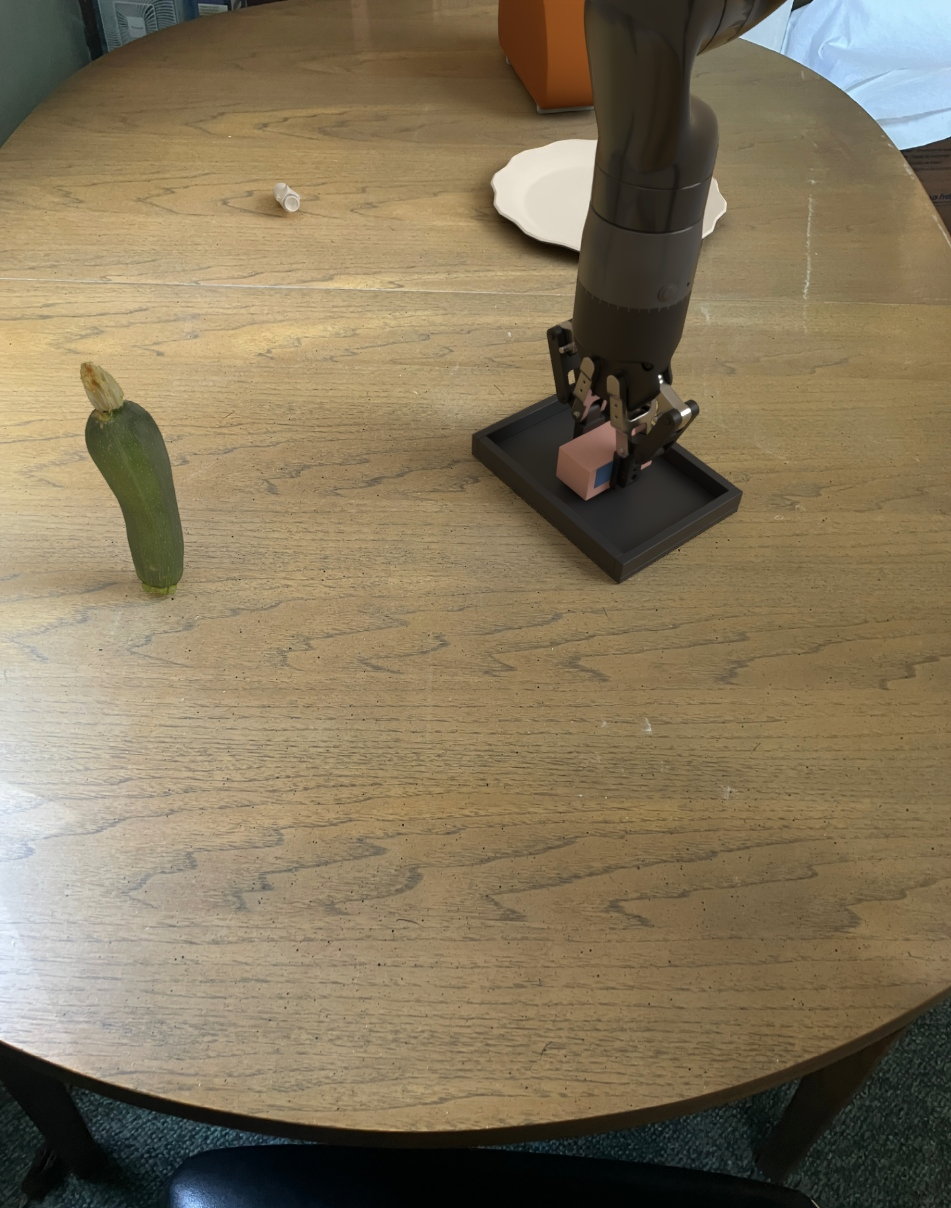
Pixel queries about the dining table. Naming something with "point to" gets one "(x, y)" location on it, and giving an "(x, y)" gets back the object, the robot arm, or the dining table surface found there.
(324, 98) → the dining table surface
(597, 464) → the eraser
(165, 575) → the vegetable
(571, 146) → the plate
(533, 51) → the alarm clock
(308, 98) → the dining table surface
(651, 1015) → the dining table surface
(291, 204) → the small white plastic part
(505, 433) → the tray
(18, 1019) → the dining table surface
